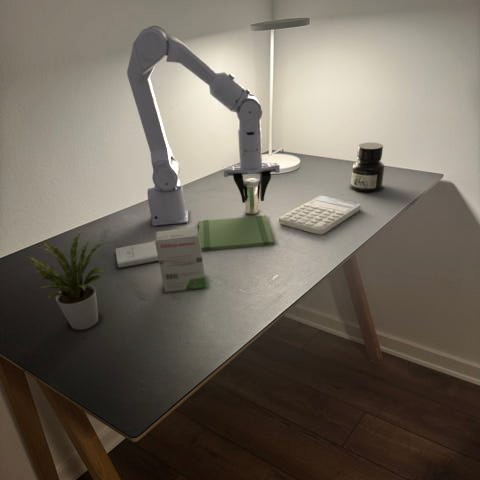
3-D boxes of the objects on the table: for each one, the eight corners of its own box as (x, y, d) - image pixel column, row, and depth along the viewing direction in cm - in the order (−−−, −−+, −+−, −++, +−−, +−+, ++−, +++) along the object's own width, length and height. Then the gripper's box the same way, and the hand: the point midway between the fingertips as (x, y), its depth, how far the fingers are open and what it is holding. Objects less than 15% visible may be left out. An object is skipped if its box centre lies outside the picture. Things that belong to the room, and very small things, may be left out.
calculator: (277, 223, 116) (277, 217, 114) (319, 199, 127) (320, 193, 126) (321, 236, 108) (321, 229, 107) (362, 209, 120) (362, 202, 119)
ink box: (205, 276, 96) (199, 225, 89) (206, 289, 92) (199, 235, 85) (164, 281, 95) (155, 229, 88) (164, 293, 91) (154, 240, 84)
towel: (199, 251, 106) (198, 247, 105) (199, 223, 119) (198, 220, 118) (274, 244, 106) (274, 241, 106) (266, 218, 119) (266, 214, 119)
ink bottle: (343, 188, 134) (346, 146, 127) (361, 180, 138) (365, 139, 131) (371, 195, 128) (376, 152, 121) (388, 186, 132) (394, 144, 125)
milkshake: (256, 217, 120) (256, 180, 114) (240, 213, 122) (239, 176, 117) (266, 211, 123) (266, 175, 117) (250, 207, 125) (249, 172, 120)
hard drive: (173, 259, 103) (118, 269, 101) (167, 244, 110) (116, 253, 107) (171, 252, 102) (117, 262, 100) (166, 238, 109) (115, 247, 106)
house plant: (116, 290, 93) (97, 216, 84) (137, 323, 83) (117, 243, 73) (46, 312, 88) (17, 236, 78) (58, 350, 78) (27, 268, 68)
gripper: (222, 155, 109) (226, 208, 117) (281, 150, 110) (281, 203, 118) (221, 147, 115) (225, 198, 123) (277, 143, 115) (277, 194, 123)
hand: (252, 200), depth 121 cm, fingers closed on milkshake, 4 cm apart
